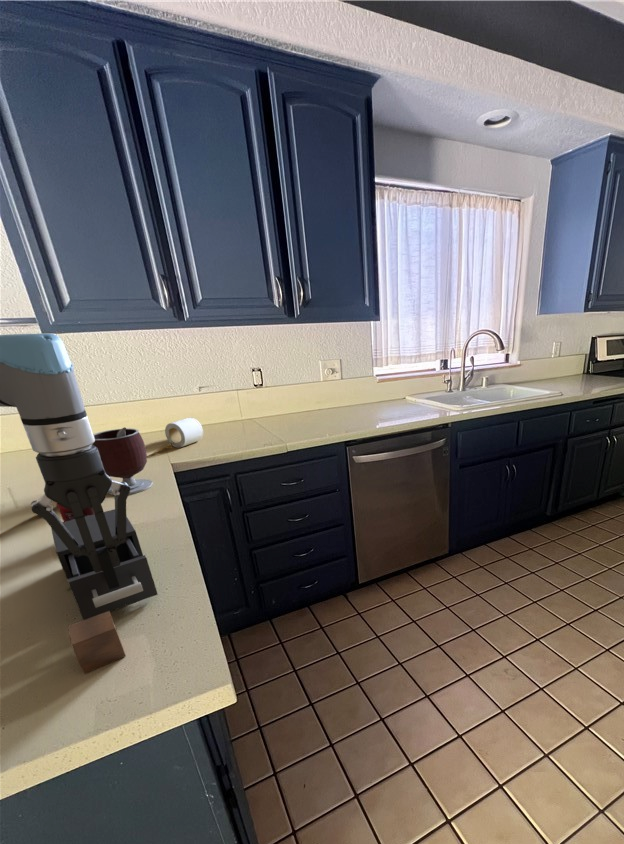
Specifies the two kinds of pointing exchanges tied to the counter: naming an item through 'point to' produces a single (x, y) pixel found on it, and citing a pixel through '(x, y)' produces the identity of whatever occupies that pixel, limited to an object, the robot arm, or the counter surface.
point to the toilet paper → (183, 432)
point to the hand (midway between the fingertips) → (113, 584)
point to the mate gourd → (123, 456)
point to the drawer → (94, 587)
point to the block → (96, 642)
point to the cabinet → (96, 537)
